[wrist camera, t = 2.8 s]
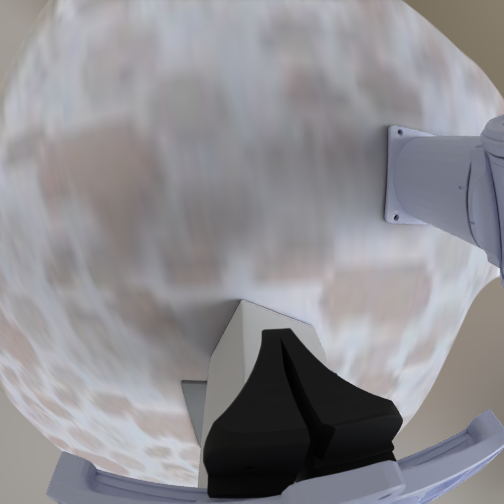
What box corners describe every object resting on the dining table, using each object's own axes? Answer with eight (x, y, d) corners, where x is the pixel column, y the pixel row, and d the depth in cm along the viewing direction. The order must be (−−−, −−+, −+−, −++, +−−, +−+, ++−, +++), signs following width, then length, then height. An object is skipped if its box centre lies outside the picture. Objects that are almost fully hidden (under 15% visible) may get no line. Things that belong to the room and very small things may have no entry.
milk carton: (276, 377, 25) (306, 558, 7) (209, 357, 24) (193, 560, 6) (314, 325, 23) (393, 531, 5) (241, 297, 22) (253, 557, 4)
